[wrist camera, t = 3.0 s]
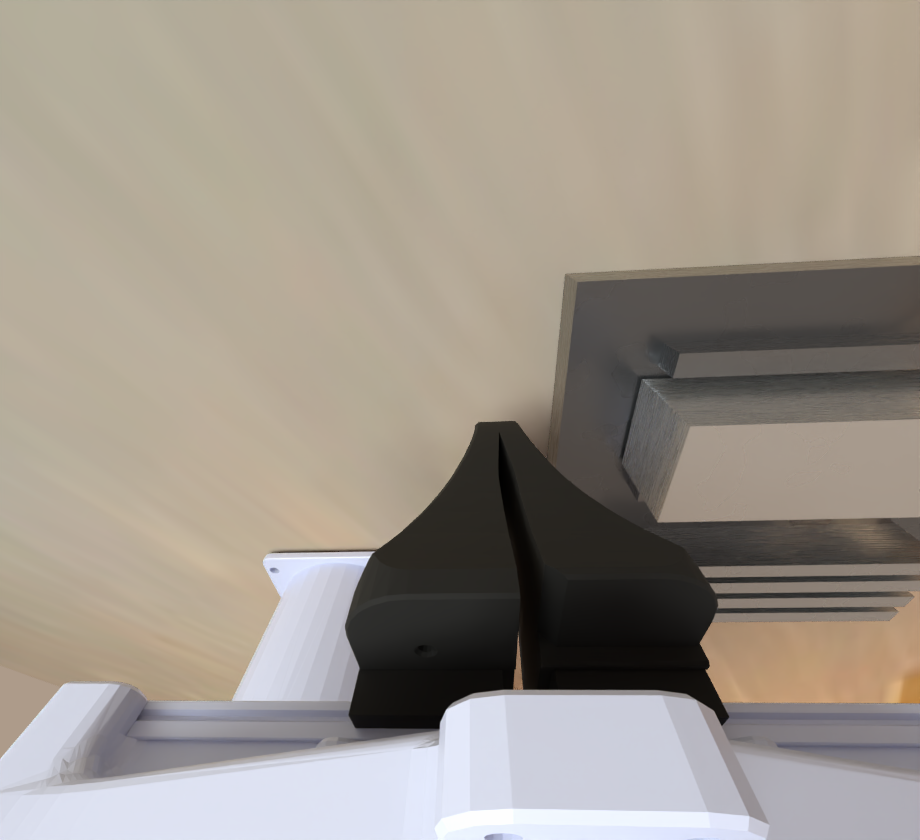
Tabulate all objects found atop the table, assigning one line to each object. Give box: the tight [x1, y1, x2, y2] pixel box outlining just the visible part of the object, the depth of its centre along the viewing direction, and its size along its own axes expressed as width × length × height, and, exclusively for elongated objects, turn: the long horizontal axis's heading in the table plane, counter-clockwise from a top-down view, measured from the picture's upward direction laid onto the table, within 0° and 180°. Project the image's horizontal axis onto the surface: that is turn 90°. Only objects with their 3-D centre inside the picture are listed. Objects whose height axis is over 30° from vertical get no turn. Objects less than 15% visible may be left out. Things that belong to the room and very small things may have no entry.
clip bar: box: [622, 369, 920, 522], centre depth 11 cm, size 4×9×3 cm, turn 93°
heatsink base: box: [547, 256, 920, 622], centre depth 13 cm, size 15×18×6 cm
